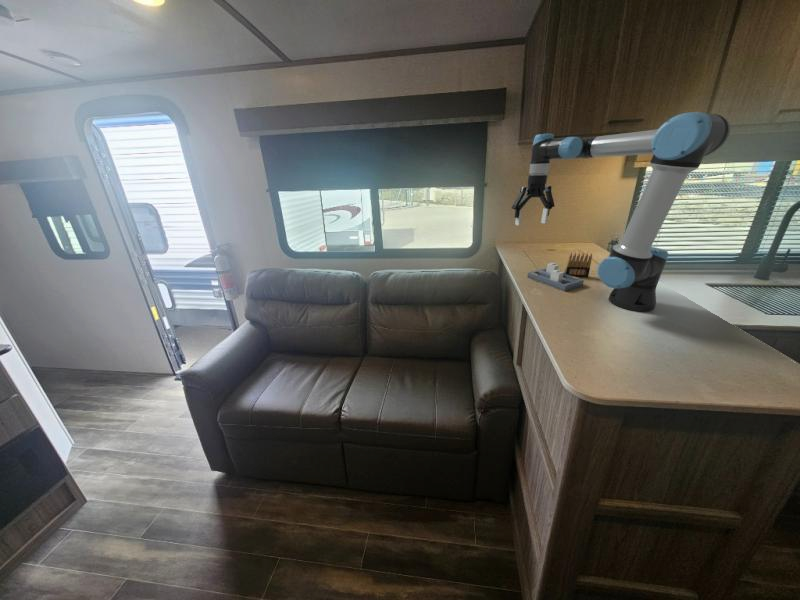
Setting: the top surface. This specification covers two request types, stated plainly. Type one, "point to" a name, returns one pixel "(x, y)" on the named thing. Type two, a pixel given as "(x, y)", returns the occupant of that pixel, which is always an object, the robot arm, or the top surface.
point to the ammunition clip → (578, 266)
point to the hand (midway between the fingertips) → (530, 224)
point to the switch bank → (565, 285)
